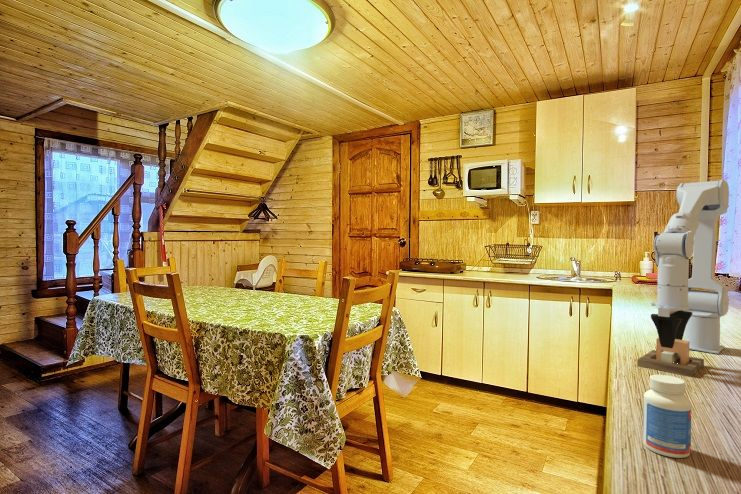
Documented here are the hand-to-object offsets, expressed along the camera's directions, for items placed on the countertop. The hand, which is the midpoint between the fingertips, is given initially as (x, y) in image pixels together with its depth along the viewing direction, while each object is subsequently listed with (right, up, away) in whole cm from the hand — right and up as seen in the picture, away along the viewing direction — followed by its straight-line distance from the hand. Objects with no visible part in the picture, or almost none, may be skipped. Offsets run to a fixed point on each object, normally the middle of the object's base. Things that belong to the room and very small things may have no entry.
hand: (671, 344), depth 95 cm
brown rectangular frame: (0, -5, 0) cm, 5 cm away
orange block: (0, -4, 0) cm, 4 cm away
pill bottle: (-28, -6, -38) cm, 47 cm away
